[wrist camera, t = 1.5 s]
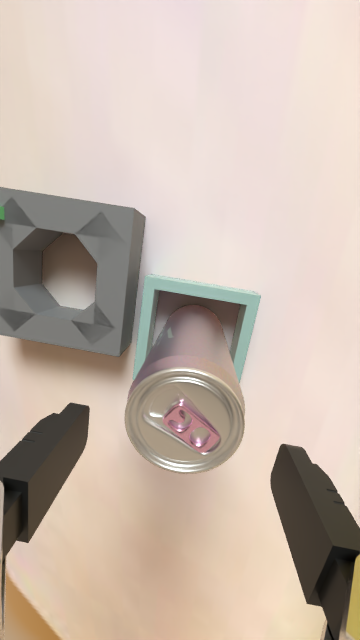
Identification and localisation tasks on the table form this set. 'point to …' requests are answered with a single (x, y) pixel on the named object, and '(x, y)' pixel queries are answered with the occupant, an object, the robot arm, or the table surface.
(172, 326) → the beverage can
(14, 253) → the port
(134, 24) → the table surface
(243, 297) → the teal square frame
